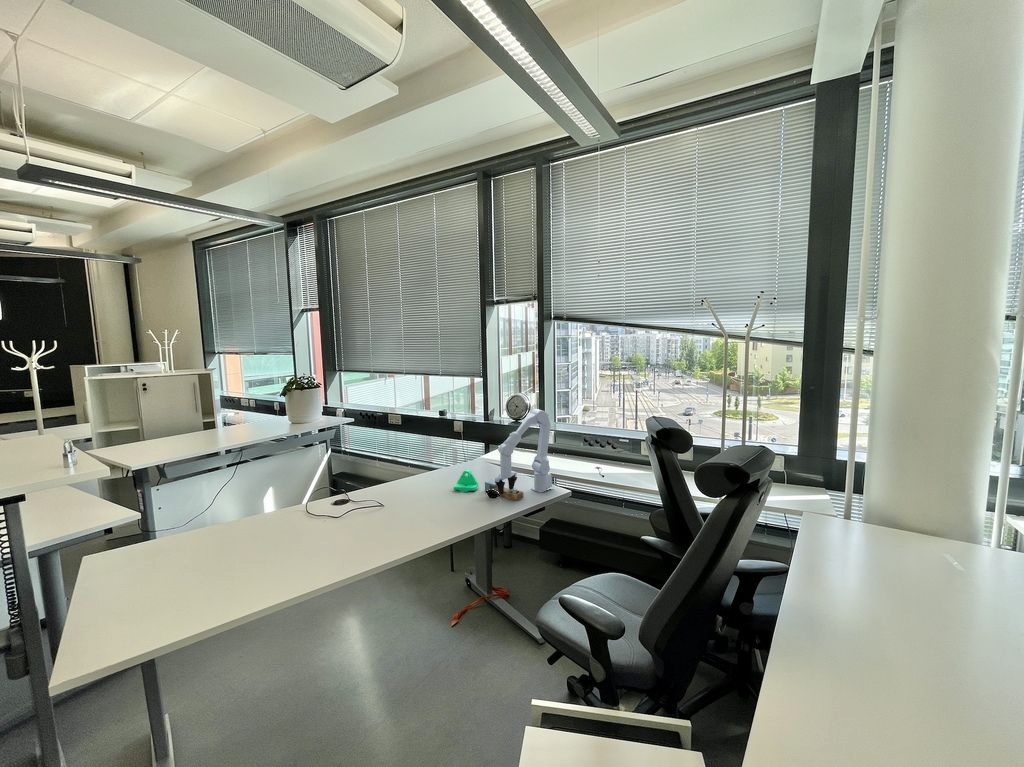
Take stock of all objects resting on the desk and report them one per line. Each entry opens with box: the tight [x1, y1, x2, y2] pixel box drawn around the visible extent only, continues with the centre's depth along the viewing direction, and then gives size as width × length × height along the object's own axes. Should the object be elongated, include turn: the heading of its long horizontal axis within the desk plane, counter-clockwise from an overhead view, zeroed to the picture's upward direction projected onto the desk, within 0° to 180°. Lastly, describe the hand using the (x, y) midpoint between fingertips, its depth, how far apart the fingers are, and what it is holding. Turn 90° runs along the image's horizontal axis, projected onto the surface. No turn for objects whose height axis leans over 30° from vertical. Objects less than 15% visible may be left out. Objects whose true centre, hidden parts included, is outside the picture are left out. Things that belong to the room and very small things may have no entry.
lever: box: [491, 486, 525, 502], centre depth 233 cm, size 17×6×3 cm, turn 51°
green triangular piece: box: [453, 469, 479, 493], centre depth 243 cm, size 12×8×10 cm, turn 79°
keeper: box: [484, 479, 497, 492], centre depth 239 cm, size 7×5×5 cm
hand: (506, 492), depth 233 cm, fingers open, 7 cm apart
